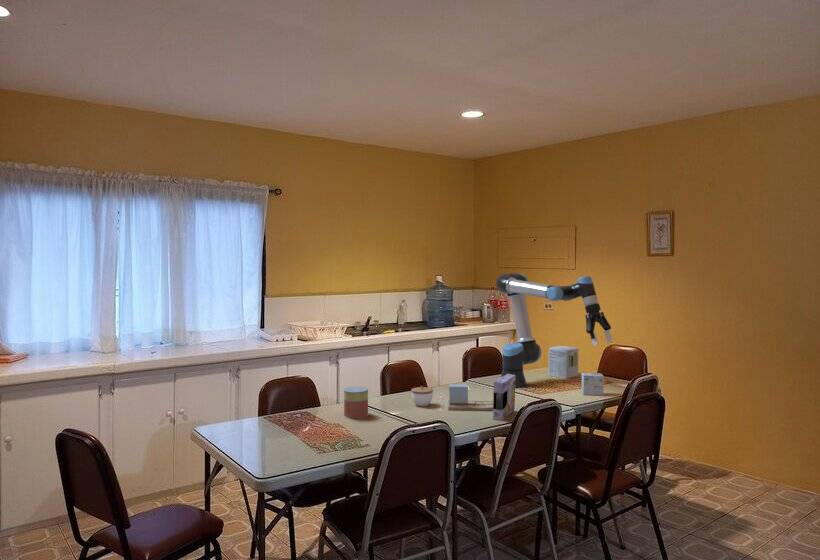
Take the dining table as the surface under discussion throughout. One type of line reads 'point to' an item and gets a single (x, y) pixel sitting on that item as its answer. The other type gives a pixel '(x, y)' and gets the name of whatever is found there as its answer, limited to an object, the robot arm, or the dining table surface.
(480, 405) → the board
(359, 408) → the canned food
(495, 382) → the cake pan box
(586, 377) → the light bulb box
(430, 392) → the lidded jar
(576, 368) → the supplement box
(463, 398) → the block
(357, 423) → the dining table surface
